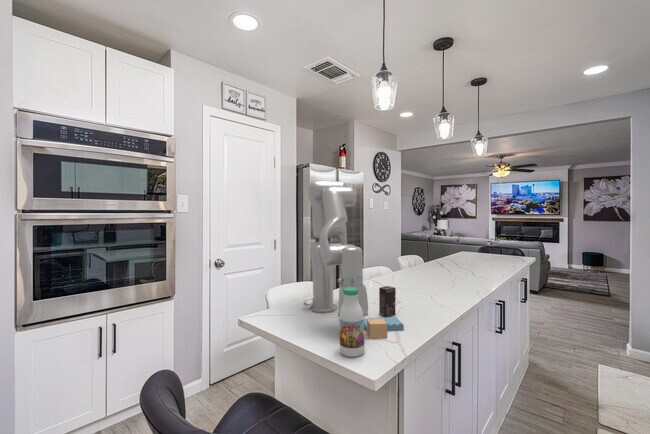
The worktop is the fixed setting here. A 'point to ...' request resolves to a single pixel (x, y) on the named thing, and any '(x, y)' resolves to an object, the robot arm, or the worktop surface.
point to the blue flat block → (388, 323)
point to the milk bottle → (351, 325)
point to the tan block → (376, 328)
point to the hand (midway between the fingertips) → (353, 333)
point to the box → (387, 301)
